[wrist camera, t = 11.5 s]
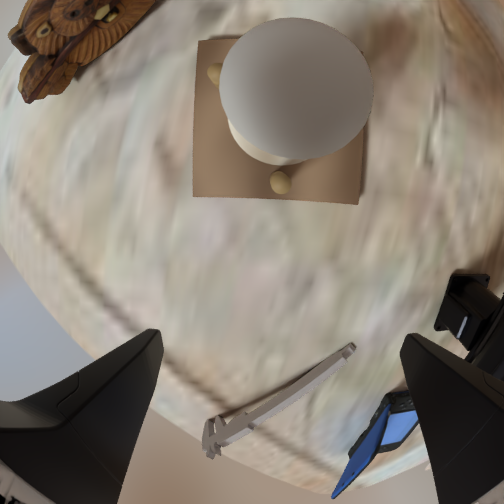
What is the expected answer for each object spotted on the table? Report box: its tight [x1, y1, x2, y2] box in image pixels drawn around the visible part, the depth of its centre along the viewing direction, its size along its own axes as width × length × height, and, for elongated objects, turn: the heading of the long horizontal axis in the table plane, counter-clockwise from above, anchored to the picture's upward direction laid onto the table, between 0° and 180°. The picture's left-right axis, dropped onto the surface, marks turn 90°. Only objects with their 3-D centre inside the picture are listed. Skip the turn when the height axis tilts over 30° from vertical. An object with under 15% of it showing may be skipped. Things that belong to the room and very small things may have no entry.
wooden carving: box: [8, 0, 156, 104], centre depth 11 cm, size 16×5×10 cm, turn 135°
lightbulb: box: [219, 18, 374, 160], centre depth 12 cm, size 6×6×11 cm
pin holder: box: [193, 39, 364, 205], centre depth 16 cm, size 12×12×4 cm
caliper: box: [202, 344, 355, 459], centre depth 25 cm, size 20×1×6 cm, turn 131°
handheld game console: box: [331, 391, 419, 499], centre depth 26 cm, size 16×13×9 cm
